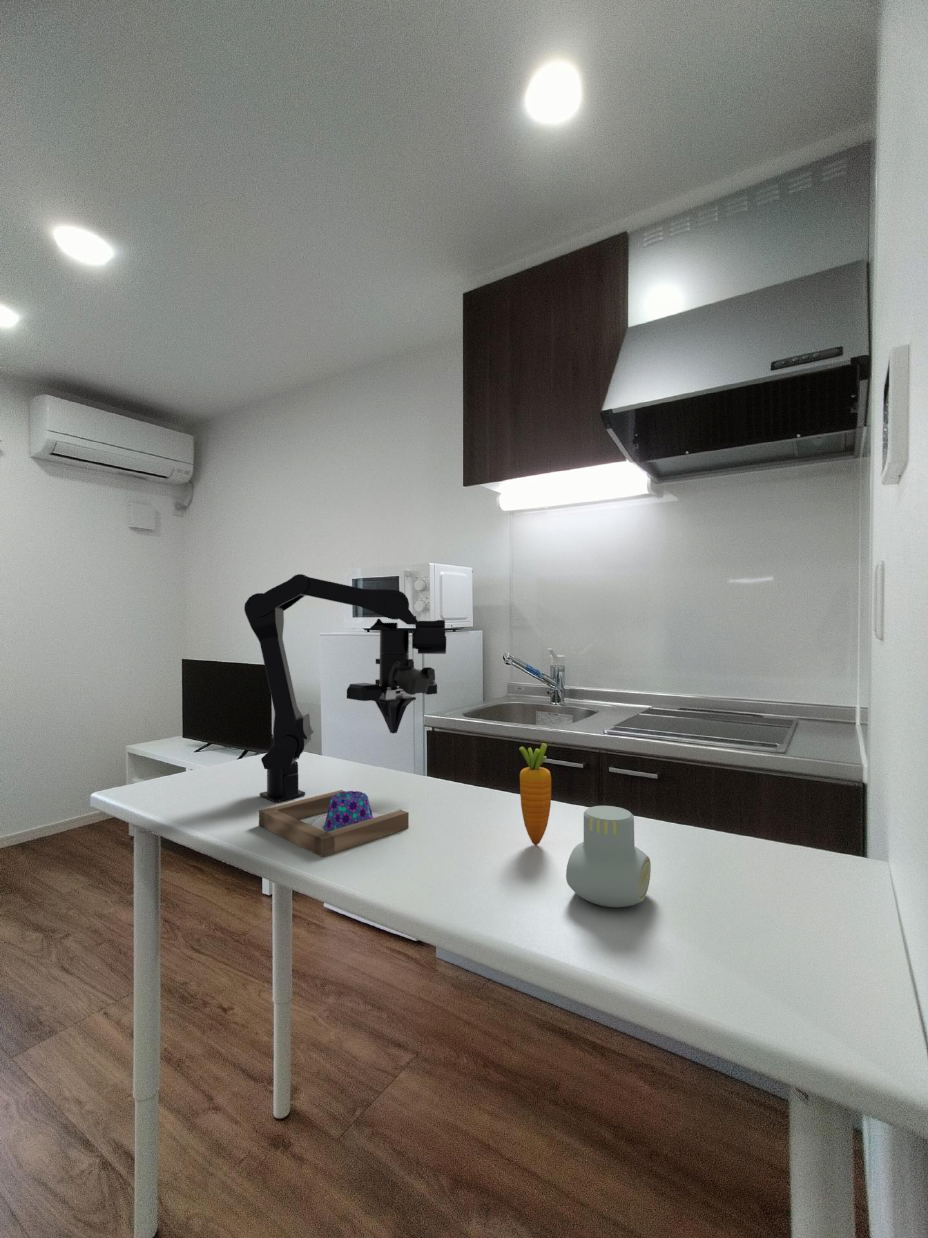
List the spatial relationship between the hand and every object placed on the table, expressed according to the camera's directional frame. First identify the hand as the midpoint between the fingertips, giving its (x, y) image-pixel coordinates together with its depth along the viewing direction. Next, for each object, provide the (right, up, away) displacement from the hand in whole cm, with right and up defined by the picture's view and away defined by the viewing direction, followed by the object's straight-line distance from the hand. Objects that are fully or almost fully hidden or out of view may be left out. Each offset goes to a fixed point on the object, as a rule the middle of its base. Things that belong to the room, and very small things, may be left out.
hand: (393, 733), depth 111 cm
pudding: (-5, -12, -19) cm, 23 cm away
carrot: (+25, -11, -28) cm, 39 cm away
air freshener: (+31, -11, -44) cm, 55 cm away
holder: (-7, -11, -19) cm, 23 cm away
